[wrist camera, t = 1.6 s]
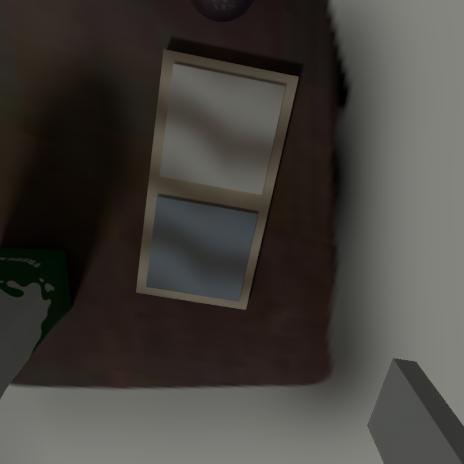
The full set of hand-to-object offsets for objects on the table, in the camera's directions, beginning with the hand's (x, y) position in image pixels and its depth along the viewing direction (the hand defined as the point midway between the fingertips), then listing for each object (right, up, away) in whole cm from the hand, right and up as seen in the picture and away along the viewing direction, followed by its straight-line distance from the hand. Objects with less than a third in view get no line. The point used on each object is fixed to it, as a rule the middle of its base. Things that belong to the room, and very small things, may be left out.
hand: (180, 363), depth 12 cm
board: (-1, +8, +26) cm, 27 cm away
